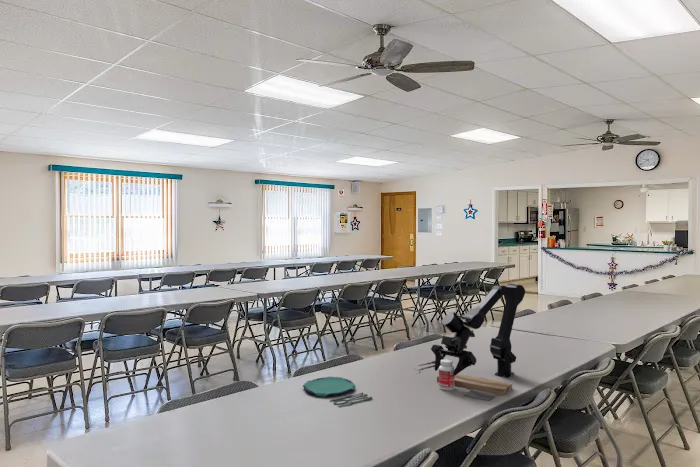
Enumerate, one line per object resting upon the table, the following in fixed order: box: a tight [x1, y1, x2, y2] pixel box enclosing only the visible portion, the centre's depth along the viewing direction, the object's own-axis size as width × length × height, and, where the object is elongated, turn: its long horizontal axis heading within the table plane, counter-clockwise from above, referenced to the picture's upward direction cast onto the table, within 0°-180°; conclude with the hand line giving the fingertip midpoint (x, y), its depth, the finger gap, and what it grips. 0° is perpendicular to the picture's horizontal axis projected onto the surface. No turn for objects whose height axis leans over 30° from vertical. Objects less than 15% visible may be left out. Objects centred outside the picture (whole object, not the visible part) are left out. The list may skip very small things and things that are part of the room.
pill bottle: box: [438, 358, 456, 391], centre depth 192 cm, size 6×6×11 cm
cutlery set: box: [302, 376, 373, 408], centre depth 189 cm, size 20×30×2 cm, turn 31°
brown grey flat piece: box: [436, 373, 513, 402], centre depth 191 cm, size 18×28×2 cm, turn 52°
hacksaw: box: [414, 360, 435, 374], centre depth 221 cm, size 24×10×2 cm, turn 121°
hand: (444, 372), depth 191 cm, fingers open, 9 cm apart
